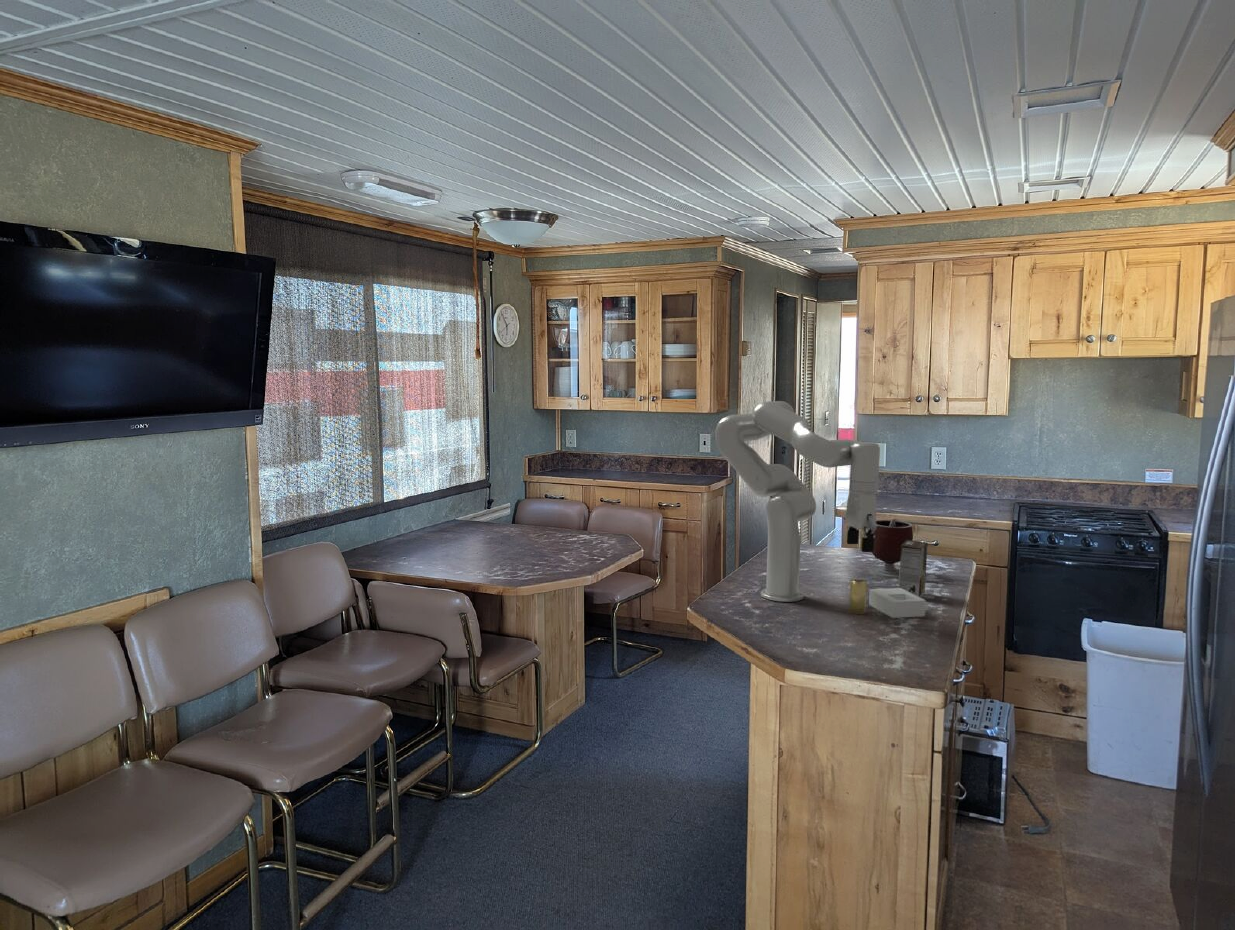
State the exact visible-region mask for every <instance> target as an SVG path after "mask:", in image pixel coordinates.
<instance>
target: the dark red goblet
mask: <svg viewBox="0 0 1235 930" xmlns="http://www.w3.org/2000/svg"><path fill="white" fill-rule="evenodd" d="M876 523H877V528H876V533H875V538H874V548H873V552H871V553H872V555H873V556H874V558H875V559H877V560H879V561H881V562H883V563H885V564H884V565H883V566H880V567H872V568H870V569H869V573H870V574H871V575H873V576H876V577H879V578H887V579H899V572H900V568H896V567H895V564H897V563H900V555H901V545H902V544H903V543H904V542H905V541H906V540H912V541H914V534H913V533H914V532H913V525H912V524H911V523H909V522H906V521H901V520H895V519H891V520H890V519H889V520H888V519H878V520H877V519H876Z"/></svg>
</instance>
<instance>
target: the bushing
mask: <svg viewBox="0 0 1235 930" xmlns="http://www.w3.org/2000/svg"><path fill="white" fill-rule="evenodd" d="M849 581H850V582H849V602H848V612H849V613H851V614H854V615H863V614H865V613H866V600H867V582H868V581H867V580H865V579H861V578H852V579H850V580H849Z"/></svg>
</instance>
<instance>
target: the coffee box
mask: <svg viewBox="0 0 1235 930" xmlns="http://www.w3.org/2000/svg"><path fill="white" fill-rule="evenodd" d="M927 559H928V542H922V541H919V540H913V541H912V540H906V541H905V542H904V543H903V544H902V545H901V555H900V562H899V569H900V572H899V578H898V588H902V589H904V590H906V591H908V592H910V593H912V594H914V595H916V596H918V597H920V598H922V597H923V596H924V595H925V594H926V580H927V579H926V576H927V573H926V572H927V563H928V562H927Z"/></svg>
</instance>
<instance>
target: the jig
mask: <svg viewBox="0 0 1235 930" xmlns="http://www.w3.org/2000/svg"><path fill="white" fill-rule="evenodd" d="M926 603H927V600H925V599H923V598H922V597H921V598H920V597H918V596H916V595H914V594H912V593H910V592H908V591H906V590H904V589H902V588H899V587H895V588H894V587H892V588H874V589H869V594H868V605H869V606H870V607H872V608H874V609H876V610H878V611H879V612H881V613H883V614H885V615H887V616H889V617H890V618H892V619H895V618H897V619H898V618H914V617H915V618H917V617H926V606H927V604H926Z"/></svg>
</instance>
